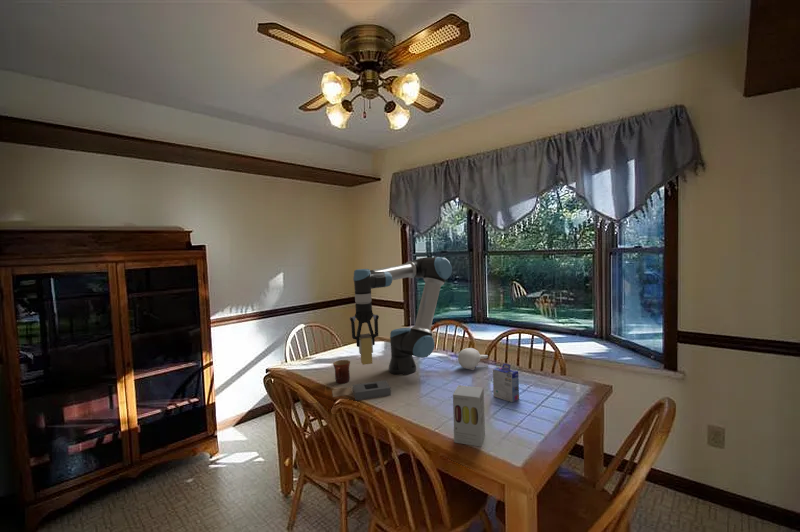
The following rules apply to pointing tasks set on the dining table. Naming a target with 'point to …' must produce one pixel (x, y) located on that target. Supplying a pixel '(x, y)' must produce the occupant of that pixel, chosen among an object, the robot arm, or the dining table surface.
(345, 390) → the pad
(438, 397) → the dining table surface
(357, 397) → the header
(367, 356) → the plug
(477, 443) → the supplement box
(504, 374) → the ink cartridge box
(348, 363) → the mug
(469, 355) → the piggy bank
